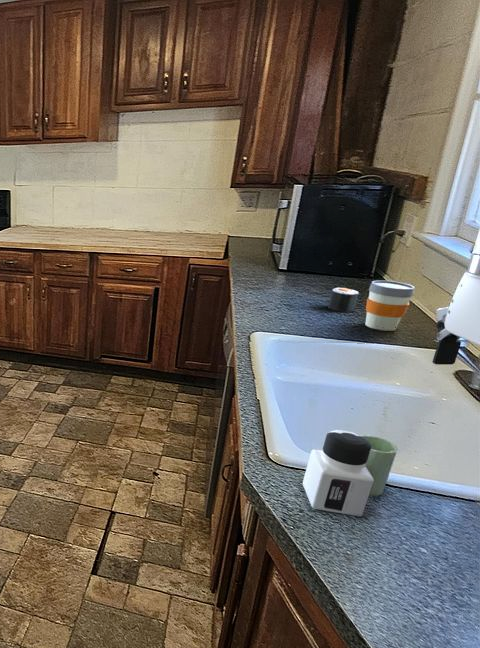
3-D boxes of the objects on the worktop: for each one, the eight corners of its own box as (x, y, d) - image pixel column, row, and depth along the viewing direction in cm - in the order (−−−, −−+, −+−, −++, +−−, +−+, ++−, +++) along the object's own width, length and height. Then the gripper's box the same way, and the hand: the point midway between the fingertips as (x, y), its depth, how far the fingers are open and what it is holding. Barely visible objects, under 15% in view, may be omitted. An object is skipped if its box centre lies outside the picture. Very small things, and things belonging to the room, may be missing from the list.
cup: (369, 476, 101) (383, 435, 97) (390, 496, 95) (405, 453, 92) (338, 475, 101) (350, 435, 97) (356, 495, 95) (370, 452, 92)
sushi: (344, 313, 199) (349, 292, 196) (323, 307, 206) (328, 287, 203) (358, 310, 202) (363, 290, 199) (337, 305, 209) (342, 285, 206)
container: (362, 517, 89) (384, 452, 84) (311, 509, 91) (330, 444, 86) (348, 491, 96) (368, 429, 91) (301, 483, 98) (318, 422, 93)
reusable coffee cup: (357, 319, 193) (369, 278, 187) (399, 324, 187) (412, 283, 182) (360, 328, 183) (373, 286, 177) (404, 334, 177) (418, 291, 171)
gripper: (587, 281, 69) (540, 399, 75) (480, 256, 85) (449, 355, 91) (527, 281, 69) (485, 399, 75) (432, 257, 85) (404, 355, 91)
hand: (465, 375), depth 83 cm, fingers open, 9 cm apart
